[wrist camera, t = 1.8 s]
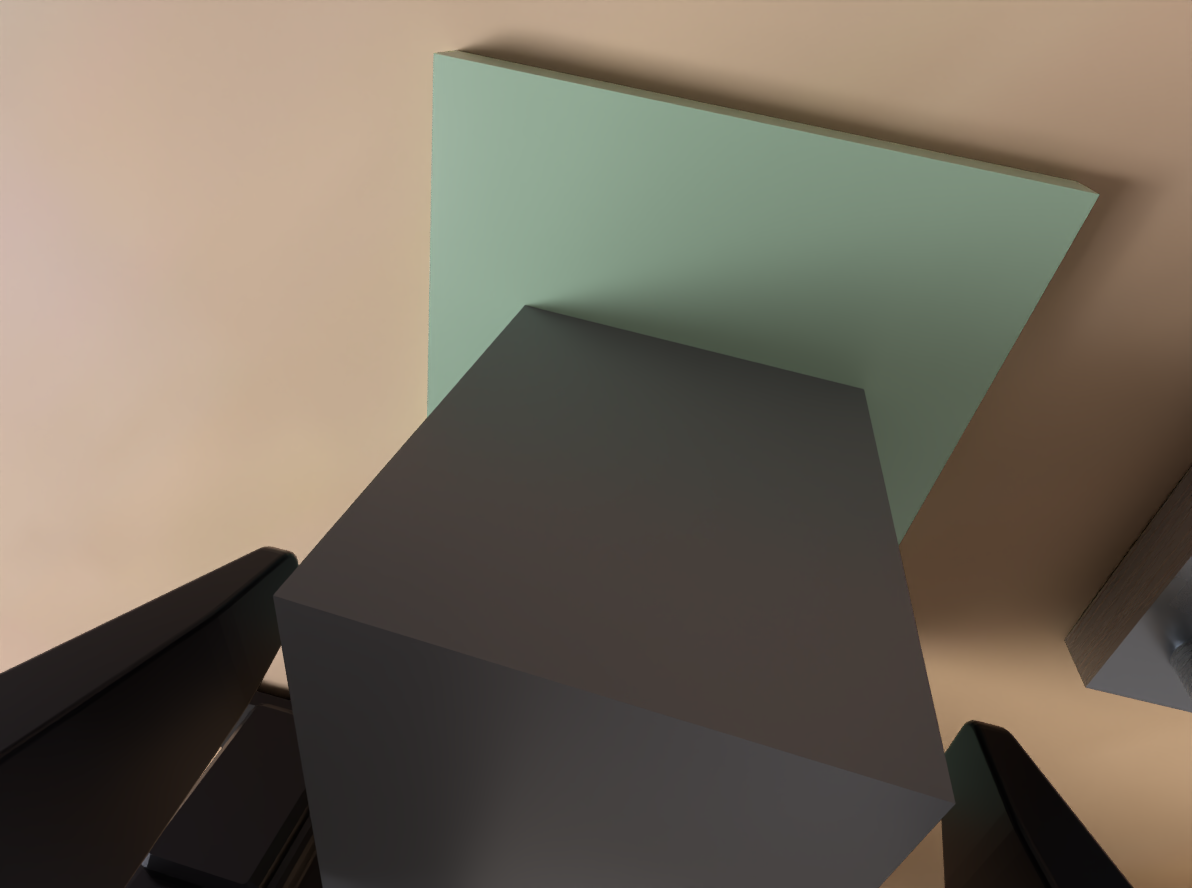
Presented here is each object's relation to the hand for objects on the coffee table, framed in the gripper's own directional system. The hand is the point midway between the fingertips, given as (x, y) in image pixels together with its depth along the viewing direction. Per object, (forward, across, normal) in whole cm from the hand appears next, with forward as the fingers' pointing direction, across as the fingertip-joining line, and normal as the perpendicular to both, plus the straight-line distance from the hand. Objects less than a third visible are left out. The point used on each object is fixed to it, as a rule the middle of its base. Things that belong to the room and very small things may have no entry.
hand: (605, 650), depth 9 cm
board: (+4, 0, 0) cm, 4 cm away
